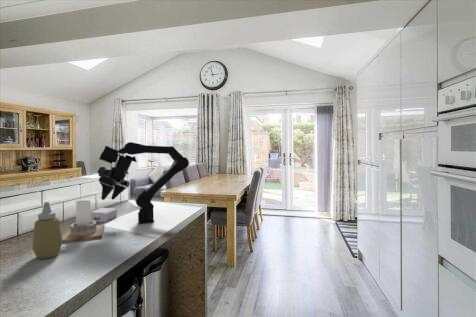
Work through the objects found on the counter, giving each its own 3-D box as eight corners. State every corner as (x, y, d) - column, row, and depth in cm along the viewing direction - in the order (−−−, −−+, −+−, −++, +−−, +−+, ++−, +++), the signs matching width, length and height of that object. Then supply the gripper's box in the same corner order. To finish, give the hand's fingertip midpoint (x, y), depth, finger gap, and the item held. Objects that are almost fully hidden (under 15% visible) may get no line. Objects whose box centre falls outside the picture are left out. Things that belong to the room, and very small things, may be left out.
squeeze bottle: (43, 251, 88) (41, 199, 87) (67, 250, 89) (66, 199, 88) (26, 261, 80) (24, 205, 79) (53, 260, 81) (51, 205, 80)
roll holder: (104, 227, 113) (104, 217, 113) (101, 238, 101) (101, 226, 100) (67, 231, 108) (66, 220, 107) (59, 243, 95) (59, 231, 95)
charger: (123, 214, 137) (106, 222, 122) (107, 213, 138) (88, 221, 123) (123, 205, 136) (105, 212, 121) (107, 205, 137) (88, 212, 122)
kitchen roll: (93, 230, 106) (93, 199, 106) (85, 234, 101) (84, 202, 101) (82, 229, 107) (81, 199, 106) (73, 233, 102) (72, 201, 101)
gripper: (115, 163, 127) (101, 193, 125) (95, 158, 108) (79, 192, 106) (135, 171, 126) (122, 201, 124) (119, 167, 108) (103, 202, 106)
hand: (107, 199), depth 115 cm, fingers open, 9 cm apart
